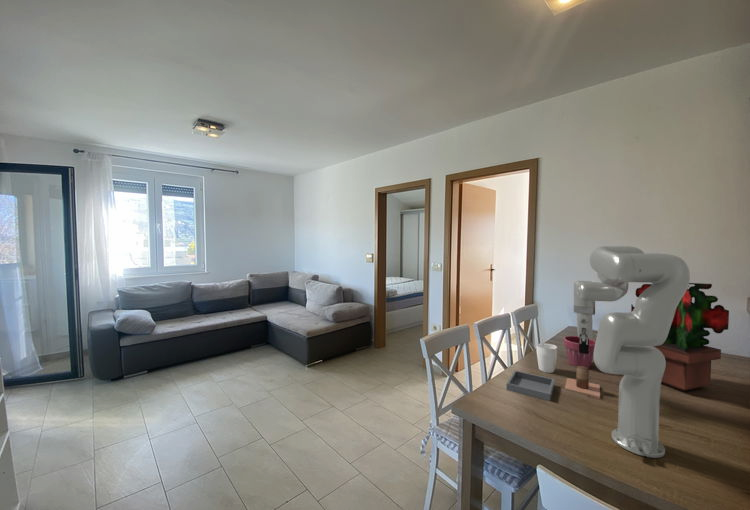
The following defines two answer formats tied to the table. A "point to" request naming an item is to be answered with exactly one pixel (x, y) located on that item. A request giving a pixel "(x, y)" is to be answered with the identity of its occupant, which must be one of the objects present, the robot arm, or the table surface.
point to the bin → (531, 385)
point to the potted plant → (691, 339)
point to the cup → (546, 357)
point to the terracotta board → (591, 391)
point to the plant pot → (573, 351)
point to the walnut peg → (582, 377)
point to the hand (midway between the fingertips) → (584, 350)
